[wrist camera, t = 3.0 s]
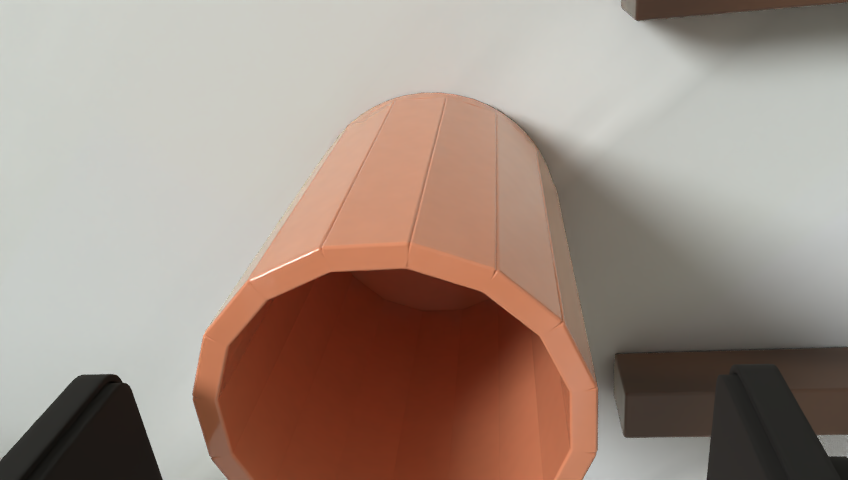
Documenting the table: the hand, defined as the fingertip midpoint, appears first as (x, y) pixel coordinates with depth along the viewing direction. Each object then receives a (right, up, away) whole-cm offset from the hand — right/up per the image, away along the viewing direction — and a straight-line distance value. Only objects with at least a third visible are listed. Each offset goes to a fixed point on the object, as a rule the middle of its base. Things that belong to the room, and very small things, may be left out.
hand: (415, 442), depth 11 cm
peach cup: (0, +4, +8) cm, 9 cm away
